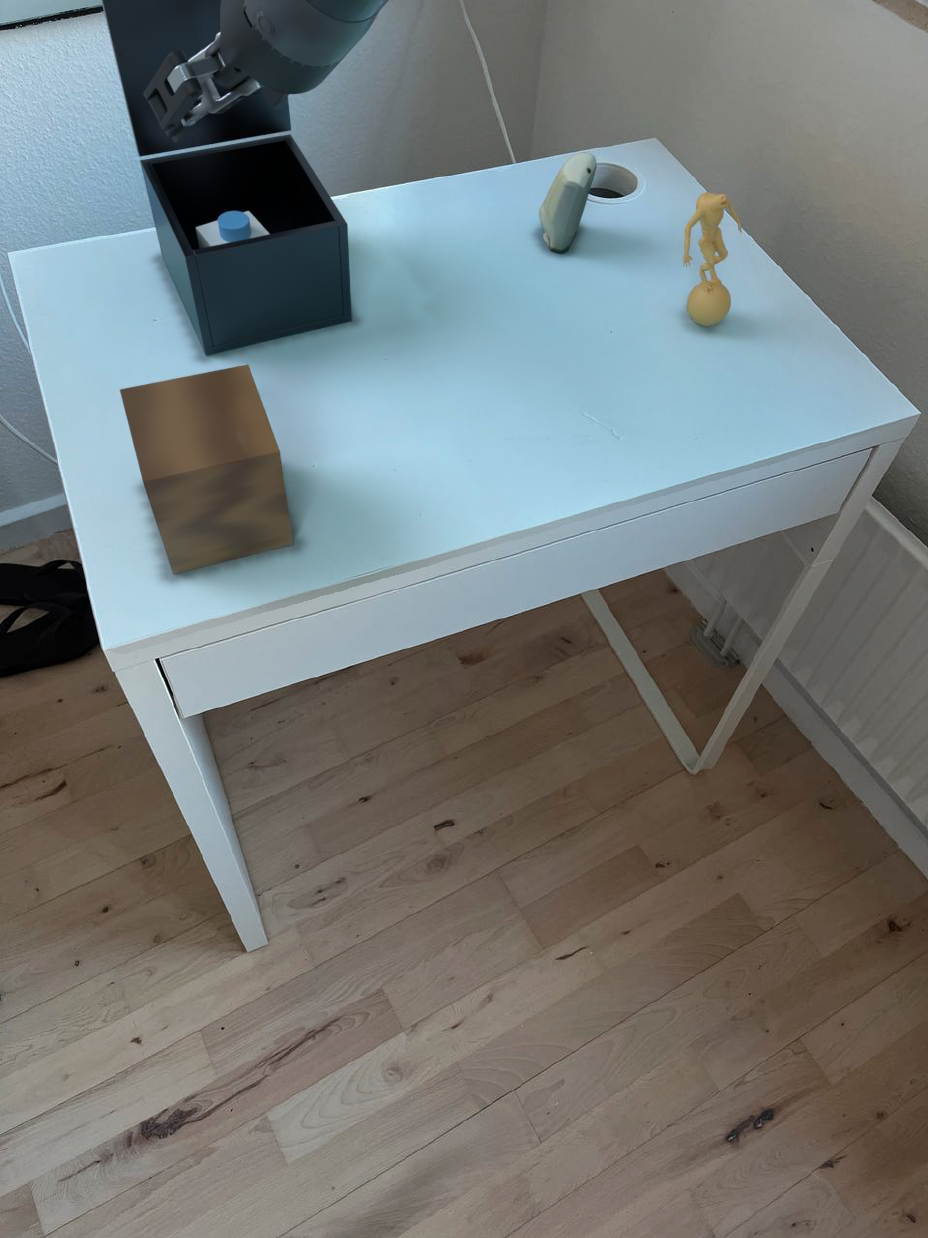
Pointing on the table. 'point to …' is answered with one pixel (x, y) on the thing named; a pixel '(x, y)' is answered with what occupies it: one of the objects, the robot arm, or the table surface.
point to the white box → (229, 229)
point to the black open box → (251, 242)
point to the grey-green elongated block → (567, 201)
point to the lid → (187, 20)
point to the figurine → (709, 260)
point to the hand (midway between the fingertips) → (220, 109)
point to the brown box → (209, 467)
